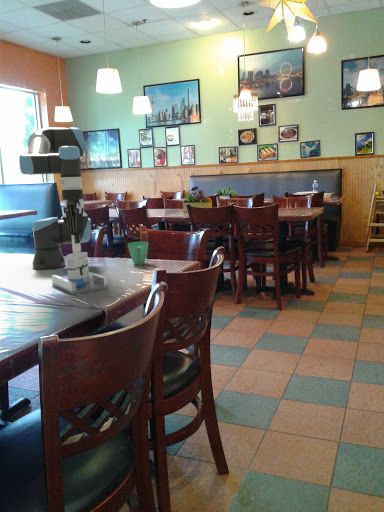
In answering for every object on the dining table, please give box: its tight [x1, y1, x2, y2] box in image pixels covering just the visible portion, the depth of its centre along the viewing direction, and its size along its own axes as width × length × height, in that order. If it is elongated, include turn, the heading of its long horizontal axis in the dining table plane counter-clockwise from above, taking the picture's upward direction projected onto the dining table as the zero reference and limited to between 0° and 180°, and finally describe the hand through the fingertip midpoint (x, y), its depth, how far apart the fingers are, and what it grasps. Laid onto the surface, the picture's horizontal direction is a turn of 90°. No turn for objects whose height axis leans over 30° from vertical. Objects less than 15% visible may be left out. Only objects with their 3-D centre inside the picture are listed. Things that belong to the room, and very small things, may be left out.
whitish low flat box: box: [51, 271, 109, 295], centre depth 172 cm, size 20×14×4 cm
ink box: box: [65, 251, 90, 286], centre depth 171 cm, size 8×5×12 cm, turn 166°
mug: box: [127, 241, 149, 266], centre depth 212 cm, size 15×10×10 cm
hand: (76, 251), depth 170 cm, fingers closed
